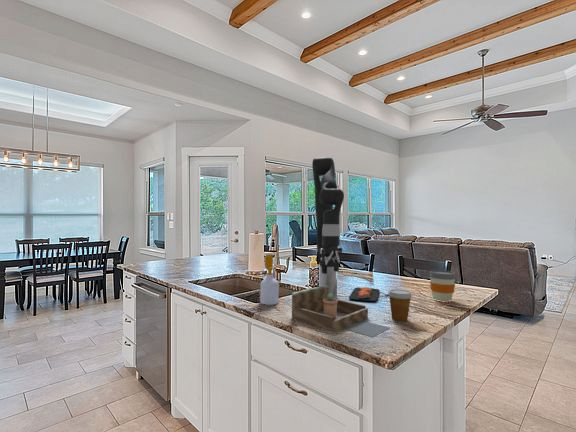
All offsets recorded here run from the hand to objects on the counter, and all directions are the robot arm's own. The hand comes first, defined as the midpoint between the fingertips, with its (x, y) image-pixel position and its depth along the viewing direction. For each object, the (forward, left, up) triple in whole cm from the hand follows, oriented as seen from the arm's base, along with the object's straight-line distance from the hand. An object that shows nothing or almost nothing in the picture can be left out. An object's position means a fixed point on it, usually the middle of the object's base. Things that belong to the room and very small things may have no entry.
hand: (330, 272), depth 137 cm
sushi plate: (-50, -3, -21) cm, 54 cm away
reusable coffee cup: (-68, +24, -20) cm, 75 cm away
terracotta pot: (0, 0, -20) cm, 20 cm away
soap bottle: (+2, -36, -20) cm, 41 cm away
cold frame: (0, 0, -20) cm, 20 cm away
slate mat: (0, +18, -20) cm, 27 cm away
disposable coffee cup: (-20, +22, -20) cm, 36 cm away
